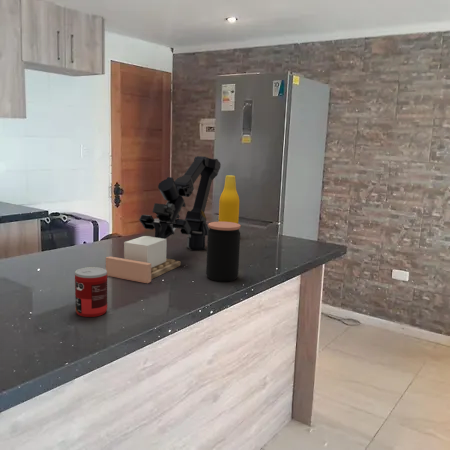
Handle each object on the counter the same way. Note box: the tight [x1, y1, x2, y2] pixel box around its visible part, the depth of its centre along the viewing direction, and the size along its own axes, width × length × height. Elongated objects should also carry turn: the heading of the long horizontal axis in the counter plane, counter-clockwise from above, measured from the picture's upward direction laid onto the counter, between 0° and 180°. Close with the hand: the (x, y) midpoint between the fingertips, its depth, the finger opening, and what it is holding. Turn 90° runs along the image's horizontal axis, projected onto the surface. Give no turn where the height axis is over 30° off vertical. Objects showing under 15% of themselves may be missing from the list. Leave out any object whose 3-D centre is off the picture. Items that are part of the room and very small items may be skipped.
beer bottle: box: [218, 175, 240, 224], centre depth 211 cm, size 9×9×29 cm
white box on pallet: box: [123, 235, 168, 268], centre depth 157 cm, size 12×9×8 cm
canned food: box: [74, 266, 108, 318], centre depth 119 cm, size 8×8×11 cm
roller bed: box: [151, 257, 182, 280], centre depth 159 cm, size 21×14×2 cm, turn 156°
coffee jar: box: [205, 221, 242, 283], centre depth 153 cm, size 11×11×18 cm
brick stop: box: [105, 256, 152, 284], centre depth 148 cm, size 2×16×6 cm, turn 66°
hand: (155, 243), depth 162 cm, fingers closed, pressing on white box on pallet
